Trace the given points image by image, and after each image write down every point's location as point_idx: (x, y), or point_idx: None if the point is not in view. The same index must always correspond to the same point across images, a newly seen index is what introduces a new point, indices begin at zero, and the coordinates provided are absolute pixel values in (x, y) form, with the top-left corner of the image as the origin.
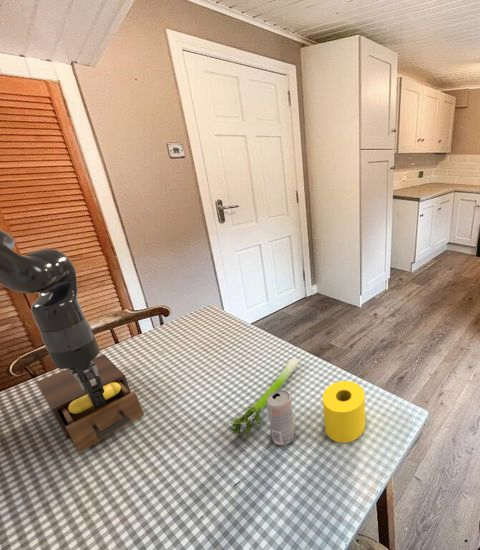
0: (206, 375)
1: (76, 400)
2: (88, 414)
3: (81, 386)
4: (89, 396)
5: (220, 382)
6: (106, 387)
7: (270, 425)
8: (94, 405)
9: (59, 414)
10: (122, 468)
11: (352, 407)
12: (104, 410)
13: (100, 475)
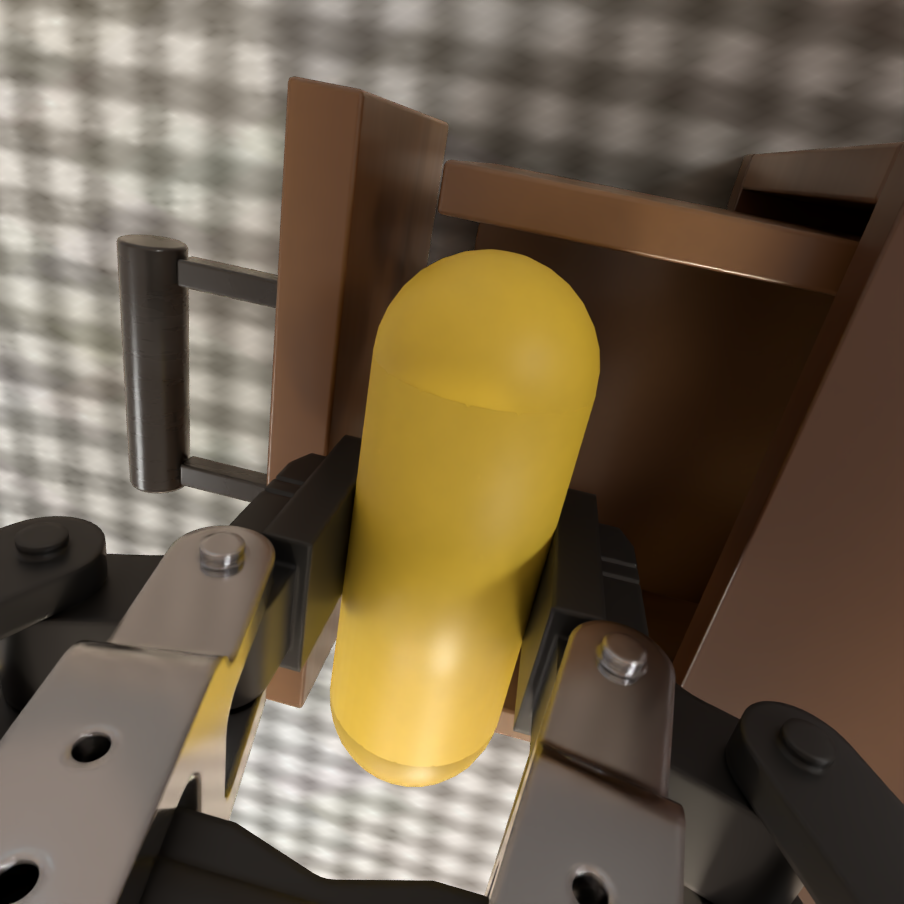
0: (375, 846)
1: (460, 412)
2: (762, 386)
3: (30, 718)
4: (20, 544)
5: (247, 819)
6: (377, 712)
7: None
8: (331, 458)
9: (838, 196)
10: (44, 206)
11: None
12: (270, 455)
13: (95, 99)
